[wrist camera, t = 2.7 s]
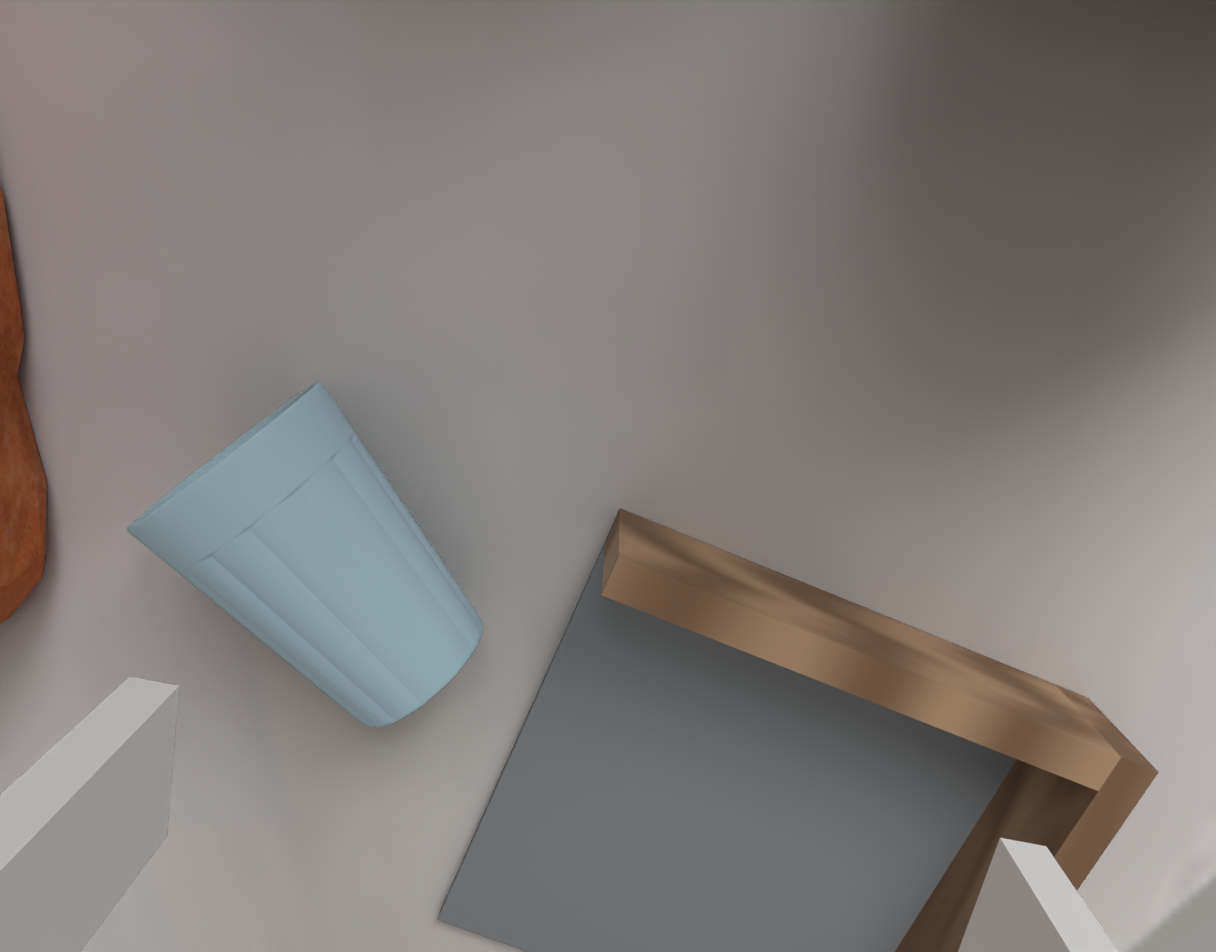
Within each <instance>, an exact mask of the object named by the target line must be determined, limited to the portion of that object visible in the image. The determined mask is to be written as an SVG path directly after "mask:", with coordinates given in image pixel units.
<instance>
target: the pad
mask: <svg viewBox="0 0 1216 952" xmlns="http://www.w3.org/2000/svg"><path fill="white" fill-rule="evenodd" d="M604 548H605V543H604V545H603V548H602V550H601V552H600V554H599V557H598V559H597V561H596V563H595V566H594V568H593V570H592V572H591V575H590V577H589V579H588V581H587V584H586V586H585V588H584V590H583V593H582V595H581V597H580V599H579V601H578V604H577V606H576V608H575V610H574V613H573V615H572V617H571V619H570V622H569V624H568V626H567V628H566V631H565V633H564V635H563V637H562V640H561V642H560V644H559V646H558V649H557V651H556V653H555V655H554V657H553V660H552V662H551V664H550V666H549V669H548V671H547V673H546V675H545V678H544V680H543V682H542V684H541V687H540V689H539V691H538V693H537V696H536V698H535V700H534V702H533V705H532V707H531V709H530V711H529V713H528V716H527V718H526V720H525V722H524V725H523V727H522V729H521V731H520V734H519V736H518V738H517V740H516V743H515V745H514V747H513V749H512V752H511V754H510V756H509V758H508V761H507V763H506V765H505V767H504V769H503V772H502V774H501V776H500V778H499V781H498V783H497V785H496V787H495V790H494V792H493V794H492V796H491V799H490V801H489V803H488V805H487V808H486V810H485V812H484V814H483V817H482V819H481V821H480V823H479V825H478V828H477V830H476V832H475V834H474V837H473V839H472V841H471V843H470V846H469V848H468V850H467V852H466V855H465V857H464V859H463V861H462V864H461V866H460V868H459V870H458V873H457V875H456V877H455V879H454V881H453V884H452V886H451V888H450V890H449V893H448V895H447V897H446V899H445V902H444V904H443V906H442V908H441V911H440V913H439V916H438V920H439V921H442V922H445V923H448V924H451V925H454V926H456V927H459V928H462V929H465V930H468V931H471V932H473V933H476V934H479V935H482V936H485V937H488V938H490V939H493V940H496V941H499V942H502V943H505V944H507V945H510V946H513V947H516V948H519V949H522V950H524V951H527V952H895V951H896V949H897V947H898V946H899V944H900V943H901V941H902V940H903V938H904V936H905V935H906V933H907V932H908V930H909V928H910V927H911V925H912V924H913V922H914V921H915V919H916V917H917V916H918V914H919V913H920V911H921V910H922V908H923V906H924V905H925V903H926V902H927V900H928V899H929V897H930V895H931V894H932V892H933V891H934V889H935V887H936V886H937V884H938V883H939V881H940V880H941V878H942V876H943V875H944V873H945V872H946V870H947V869H948V867H949V865H950V864H951V862H952V861H953V859H954V858H955V856H956V854H957V853H958V851H959V850H960V848H961V846H962V845H963V843H964V842H965V840H966V839H967V837H968V835H969V834H970V832H971V831H972V829H973V828H974V826H975V824H976V823H977V821H978V820H979V818H980V816H981V815H982V813H983V812H984V810H985V809H986V807H987V805H988V804H989V802H990V801H991V799H992V798H993V796H994V794H995V793H996V791H997V790H998V788H999V787H1000V785H1001V783H1002V782H1003V780H1004V779H1005V777H1006V775H1007V774H1008V772H1009V771H1010V769H1011V768H1012V766H1013V764H1014V763H1015V761H1016V760H1017V759H1015V758H1013V757H1010V756H1008V755H1005V754H1003V753H1000V752H998V751H995V750H993V749H990V748H987V747H985V746H982V745H980V744H977V743H975V742H972V741H970V740H967V739H965V738H962V737H960V736H957V735H955V734H952V733H949V732H947V731H944V730H942V729H939V728H937V727H934V726H932V725H929V724H927V723H924V722H922V721H919V720H917V719H914V718H911V717H909V716H906V715H904V714H901V713H899V712H896V711H894V710H891V709H889V708H886V707H884V706H881V705H878V704H876V703H873V702H871V701H868V700H866V699H863V698H861V697H858V696H856V695H853V694H851V693H848V692H846V691H843V690H840V689H838V688H835V687H833V686H830V685H828V684H825V683H823V682H820V681H818V680H815V679H813V678H810V677H808V676H805V675H802V674H800V673H797V672H795V671H792V670H790V669H787V668H785V667H782V666H780V665H777V664H775V663H772V662H769V661H767V660H764V659H762V658H759V657H757V656H754V655H752V654H749V653H747V652H744V651H742V650H739V649H737V648H734V647H731V646H729V645H726V644H724V643H721V642H719V641H716V640H714V639H711V638H709V637H706V636H704V635H701V634H699V633H696V632H693V631H691V630H688V629H686V628H683V627H681V626H678V625H676V624H673V623H671V622H668V621H666V620H663V619H661V618H658V617H655V616H653V615H650V614H648V613H645V612H643V611H640V610H638V609H635V608H633V607H630V606H628V605H625V604H622V603H620V602H617V601H615V600H612V599H610V598H607V597H605V596H602V595H601V593H602V578H603V563H604Z"/></svg>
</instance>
